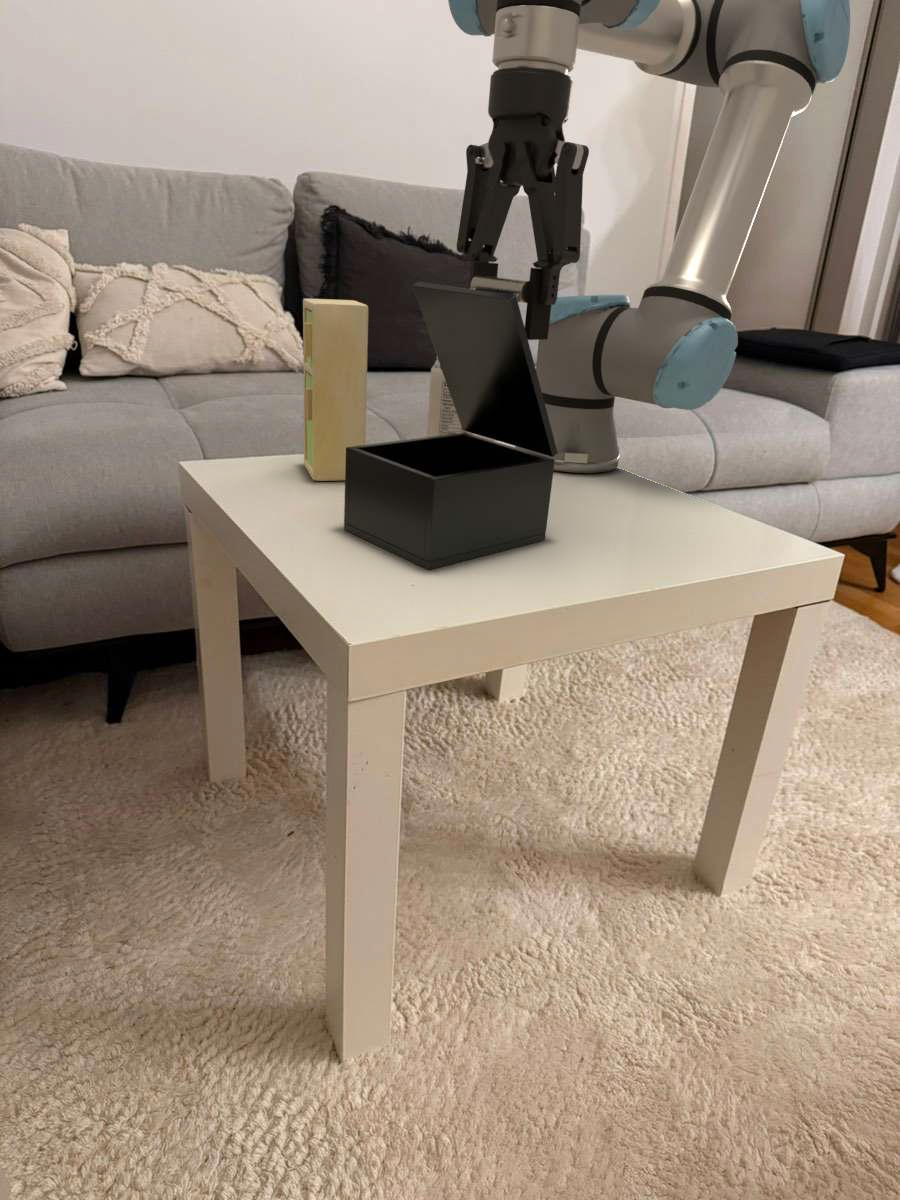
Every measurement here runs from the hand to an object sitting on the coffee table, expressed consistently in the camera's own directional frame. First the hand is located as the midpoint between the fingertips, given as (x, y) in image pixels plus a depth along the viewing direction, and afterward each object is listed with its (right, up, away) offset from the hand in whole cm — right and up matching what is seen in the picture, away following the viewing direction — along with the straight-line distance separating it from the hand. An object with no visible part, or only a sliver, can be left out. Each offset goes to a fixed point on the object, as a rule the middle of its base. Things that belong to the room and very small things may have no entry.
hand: (507, 333), depth 86 cm
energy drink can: (-6, -10, +28) cm, 30 cm away
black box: (-6, -20, +4) cm, 22 cm away
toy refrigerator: (-21, -11, +23) cm, 33 cm away
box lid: (-2, -4, 0) cm, 5 cm away
